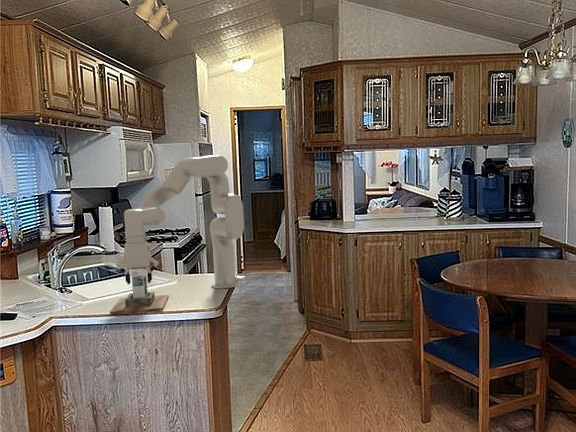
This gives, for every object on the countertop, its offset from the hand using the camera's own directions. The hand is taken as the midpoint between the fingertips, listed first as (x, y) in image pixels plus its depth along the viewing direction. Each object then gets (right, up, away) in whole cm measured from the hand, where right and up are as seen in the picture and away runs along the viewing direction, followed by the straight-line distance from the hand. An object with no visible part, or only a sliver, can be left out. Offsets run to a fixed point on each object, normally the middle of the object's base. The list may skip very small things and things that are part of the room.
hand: (139, 282), depth 211 cm
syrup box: (0, -8, +1) cm, 8 cm away
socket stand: (0, -9, +1) cm, 10 cm away
